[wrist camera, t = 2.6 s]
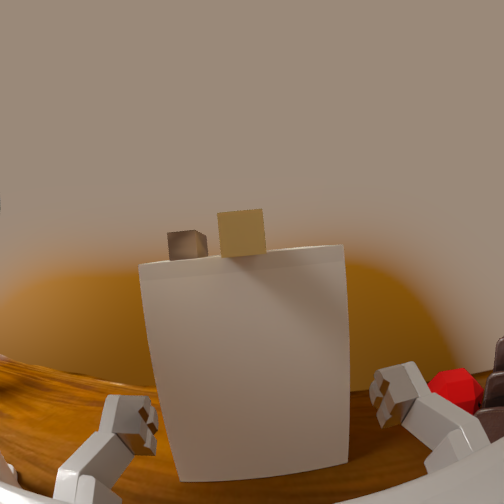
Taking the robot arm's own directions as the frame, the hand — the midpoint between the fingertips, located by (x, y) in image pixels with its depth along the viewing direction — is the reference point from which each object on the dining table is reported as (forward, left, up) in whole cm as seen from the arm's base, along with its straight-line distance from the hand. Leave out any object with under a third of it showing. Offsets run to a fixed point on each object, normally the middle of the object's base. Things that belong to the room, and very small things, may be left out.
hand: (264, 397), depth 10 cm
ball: (+26, +22, -21) cm, 40 cm away
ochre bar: (0, +23, +5) cm, 24 cm away
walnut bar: (-6, +31, +5) cm, 31 cm away
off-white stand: (0, +30, -21) cm, 37 cm away
